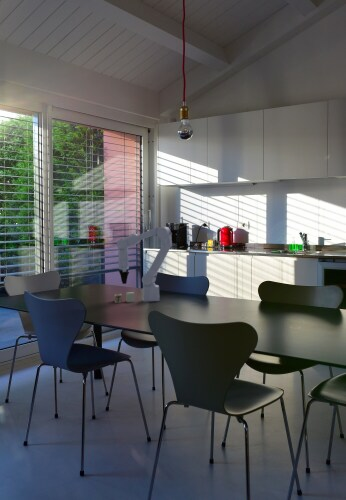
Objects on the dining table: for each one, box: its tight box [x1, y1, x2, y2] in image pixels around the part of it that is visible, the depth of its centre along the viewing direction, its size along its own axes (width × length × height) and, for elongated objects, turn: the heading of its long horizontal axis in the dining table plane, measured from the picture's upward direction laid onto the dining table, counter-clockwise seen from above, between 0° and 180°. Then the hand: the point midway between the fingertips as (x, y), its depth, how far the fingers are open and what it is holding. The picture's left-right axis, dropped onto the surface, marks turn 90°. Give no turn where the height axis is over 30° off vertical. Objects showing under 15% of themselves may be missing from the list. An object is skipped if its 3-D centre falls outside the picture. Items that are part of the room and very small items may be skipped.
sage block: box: [125, 291, 136, 303], centre depth 298 cm, size 4×4×5 cm
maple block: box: [113, 293, 123, 304], centre depth 298 cm, size 4×4×7 cm
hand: (124, 282), depth 303 cm, fingers open, 7 cm apart
